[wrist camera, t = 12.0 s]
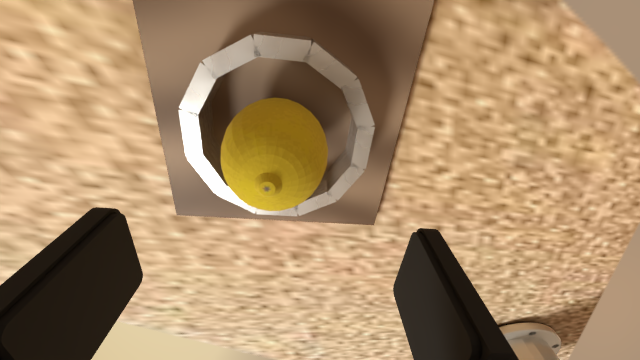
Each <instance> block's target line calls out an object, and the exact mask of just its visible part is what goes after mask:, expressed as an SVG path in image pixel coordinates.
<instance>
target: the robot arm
mask: <svg viewBox="0 0 640 360" xmlns="http://www.w3.org/2000/svg"><path fill="white" fill-rule="evenodd" d="M142 278H143V273H142V269H141V266H140V263H139V260H138V256H137V253H136V250H135V247H134V243H133V240H132V237H131V234H130V230H129V227H128V224H127V221H126V218H125V216H124V215H123V214H121V213H120V211H119V210H118V209H113V208H97V207H96V208H93V209H91V210H90V211H88V212H87V213H86V214H85V215H84V216H82V217H81V218H80V219H79V220H78V221H76V222H75V223H74V224H73V225H72V226H71V227H69V228H68V229H67V230H66V231H65V232H63V233H62V234H61V235H60V236H59V237H57V238H56V239H55V240H54V241H53V242H52V243H50V244H49V245H48V246H47V247H46V248H44V249H43V250H42V251H41V252H40V253H38V254H37V255H36V256H35V257H34V258H32V259H31V260H30V261H29V262H28V263H27V264H25V265H24V266H23V267H22V268H21V269H19V270H18V271H17V272H16V273H15V274H13V275H12V276H11V277H10V278H9V279H8V280H6V281H5V282H4V283H3V284H2V285H0V360H91V359H92V357H93V356H94V354H95V353H96V351H97V350H98V348H99V346H100V345H101V343H102V342H103V340H104V339H105V337H106V336H107V334H108V333H109V331H110V330H111V328H112V327H113V325H114V324H115V322H116V321H117V319H118V318H119V316H120V314H121V313H122V311H123V310H124V308H125V307H126V305H127V304H128V302H129V301H130V299H131V298H132V296H133V295H134V293H135V292H136V290H137V289H138V287H139V285H140V284H141V281H142ZM393 291H394V297H395V300H396V303H397V306H398V310H399V313H400V316H401V319H402V323H403V326H404V329H405V332H406V336H407V339H408V342H409V345H410V349H411V352H412V355H413V358H414V360H560V359H559V358H558V357H557V355H556V354H557V353H558V352H559V350H560V348H561V339H560V337H559V336H558V335H557V334H556V332H555V331H554V330H553V329H552V328H551V327H549V326H546V325H544V324H539V323H530V322H525V323H515V324H509V325H505V326H501V327H498V325H497V323H496V322H495V320H494V319H493V317H492V315H491V314H490V312H489V311H488V309H487V307H486V306H485V304H484V303H483V301H482V299H481V298H480V296H479V295H478V293H477V291H476V290H475V288H474V287H473V285H472V283H471V282H470V280H469V279H468V277H467V276H466V274H465V272H464V271H463V269H462V268H461V266H460V264H459V263H458V261H457V259H456V258H455V256H454V255H453V253H452V251H451V250H450V248H449V247H448V245H447V243H446V242H445V240H444V239H443V237H442V235H441V234H440V232H439V231H438V230H436V229H423V228H420V229H418V230H417V232H413V233H412V235H411V238H410V241H409V244H408V246H407V249H406V252H405V255H404V258H403V261H402V263H401V266H400V269H399V272H398V275H397V277H396V280H395V283H394V288H393Z"/></svg>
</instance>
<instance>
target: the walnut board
mask: <svg viewBox="0 0 640 360" xmlns="http://www.w3.org/2000/svg"><path fill="white" fill-rule="evenodd" d="M433 3H434V0H133V4H134V9H135V14H136V19H137V24H138V29H139V33H140V38H141V43H142V48H143V53H144V58H145V63H146V67H147V72H148V77H149V82H150V87H151V92H152V97H153V102H154V106H155V111H156V116H157V121H158V126H159V131H160V136H161V140H162V145H163V150H164V155H165V160H166V165H167V170H168V174H169V179H170V184H171V189H172V194H173V199H174V204H175V209H176V213H177V215H185V216H204V217H224V218H244V219H264V220H284V221H304V222H323V223H343V224H363V225H374V223H375V219H376V215H377V212H378V208H379V204H380V201H381V197H382V193H383V189H384V186H385V182H386V178H387V175H388V171H389V167H390V163H391V160H392V156H393V152H394V148H395V145H396V141H397V137H398V134H399V130H400V126H401V122H402V119H403V115H404V111H405V108H406V104H407V100H408V96H409V93H410V89H411V85H412V82H413V78H414V74H415V70H416V67H417V63H418V59H419V56H420V52H421V48H422V44H423V41H424V37H425V33H426V29H427V26H428V22H429V18H430V15H431V11H432V7H433ZM257 32H268V33H277V34H285V35H294V36H303V37H310V38H311V40H312V39H314V40H315V41H317V42H318V43H319V44H320V45H321V46H323V47H324V48H325V49H326V50H328V51H329V52H330V53H331V54H333V55H334V56H335V57H336V58H338V59H339V60H340V61H341V62H342V63H344V64H345V65H346V66H347V67H349V68H350V69H351V70H352V71H353V72H354V74H355V75H356V76H357V77H358V79H359V81H360V84H361V87H362V90H363V92H364V95H365V98H366V101H367V104H368V107H369V110H370V112H371V115H372V118H373V121H374V124H375V125H374V126H375V129H374V134H373V138H372V143H371V148H370V152H369V157H368V161H367V166H366V169H364V170H365V171H364V172H363V173H362V175H361V176H360V177H359V178H358V179H357V180H356V181H355V182H354V183H353V185H352V186H351V187H350V188H349V189H348V190H347V191H346V192H345V193H344V194H343V196H342V197H341V198H340V199H339V200H336V202H334V203H332V204H329V205H327V206H324V207H321V208H319V209H316V210H314V211H311V212H308V213H306V214H303V215H301V216H299V215H298V213H297V216H281V215H261V214H256V212H255V214H254V213H252V212H250V211H248V210H246V209H244V208H242V207H240V206H238V205H236V204H234V203H232V202H230V201H228V200H226V199H224V198H222V197H220V196H218V195H216V194H217V193H214V192H213V191H212V189H211V188H210V187H209V186H208V184H207V183H206V182H205V181H204V179H203V178H202V177H201V176H200V174H199V173H198V172H197V171H196V169H195V168H194V167H193V166H192V164H191V163H190V162H189V161H188V159H187V158H188V156H186V154H185V148H184V142H183V136H182V129H181V123H180V117H179V111H178V110H179V109H180V108H179V106H180V104H181V102H182V100H183V98H184V95H185V93H186V91H187V89H188V87H189V85H190V83H191V81H192V79H193V76H194V74H195V72H196V70H197V68H198V66H199V64H200V62H202V60H204V59H206V58H207V57H209V56H211V55H213V54H215V53H217V52H219V51H221V50H223V49H224V48H226V47H228V46H230V45H232V44H234V43H236V42H238V41H239V40H241V39H243V38H245V37H247V36H249V35H251V34H254V33H257ZM268 98H283V99H289V100H291V101H294V102H297V103H299V104H301V105H302V106H304V107H305V108H306V109H308V110H309V111H310V112H311V113H312V114H313V115H314V116H315V117H316V119H317V120H318V121H319V123H320V125H321V127H322V129H323V131H324V133H325V136H326V141H327V146H328V157H327V166H326V170H325V172H324V174H325V173H326V172H327V171H328V169H329V168H330V167H331V166H332V165H333V163H334V162H335V161H336V160H337V159H338V157H339V156H340V155H341V154H342V153H343V151H344V150H345V149H346V144H347V138H348V132H349V126H350V120H351V114H350V111H349V108H348V106H347V103H346V101H345V98H344V96H343V93H342V91H341V89H340V88H339V87H338V86H336V85H335V84H334V83H332V82H331V81H330V80H329V79H327V78H326V77H325V76H323V75H322V74H321V73H319V72H318V71H317V70H315V69H314V68H313V67H312V66H310V65H309V64H308V63H306V62H300V61H291V60H281V59H272V58H263V57H257V58H255V59H253V60H251V61H249V62H247V63H245V64H243V65H241V66H239V67H237V68H235V69H233V70H231V71H229V72H228V73H227V74H226V76H225V78H224V79H223V81H222V83H221V85H220V87H219V89H218V91H217V93H216V95H215V97H214V98H213V100H212V102H211V106H212V117H213V127H214V137H215V140H216V141H217V143H218V144H219V145H220V147H221V145H222V141H223V138H224V135H225V132H226V129H227V127H228V126H229V124H230V123H231V121H232V120H233V118H234V117H235V116H236V115H237V114H238V113H239V112H240V111H241V110H243V109H244V108H245V107H246V106H248V105H249V104H252V103H254V102H256V101H259V100H261V99H268Z"/></svg>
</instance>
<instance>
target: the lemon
mask: <svg viewBox="0 0 640 360" xmlns="http://www.w3.org/2000/svg"><path fill="white" fill-rule="evenodd" d="M327 157H328V146H327V141H326V136H325V133H324V131H323V129H322V127H321V125H320V123H319V121H318V120H317V119H316V117H315V116H314V115H313V114H312V113H311V112H310V111H309V110H308V109H306V108H305V107H304V106H302V105H301V104H299V103H297V102H294V101H291V100H289V99H283V98H268V99H261V100H259V101H256V102H254V103H252V104H249V105H248V106H246V107H245V108H244V109H243V110H241V111H240V112H239V113H238V114H237V115H236V116H235V117H234V118H233V120H232V121H231V123H230V124H229V126H228V127H227V129H226V132H225V135H224V138H223V141H222V145H221V168H222V171H223V175H224V178H225V180H226V182H227V184H228V186H229V187H230V189H231V190H232V191H233V192H234V194H235V195H236V196H237V197H238V198H239V199H240V200H242V201H243V202H245V203H246V204H248V205H250V206H252V207H255V208H257V209H261V210H266V211H282V210H286V209H290V208H293V207H295V206H297V205H299V204H301V203H303V202H304V201H305V200H306V199H307V198H309V197H310V196H311V195H312V194H313V193H314V191H315V190H316V188H317V187H318V186H319V184H320V182H321V180H322V178H323V175H324V172H325V170H326V166H327Z"/></svg>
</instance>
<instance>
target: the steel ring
mask: <svg viewBox="0 0 640 360" xmlns="http://www.w3.org/2000/svg"><path fill="white" fill-rule="evenodd" d="M257 57H263V58H272V59H281V60H291V61H300V62H306V63H308V64H309V65H310V66H312V67H313V68H314V69H315V70H317V71H318V72H319V73H321V74H322V75H323V76H325V77H326V78H327V79H329V80H330V81H331V82H332V83H334V84H335V85H336V86H338V87H339V88H340V89H341V91H342V93H343V96H344V98H345V101H346V103H347V106H348V108H349V111H350V114H351V120H350V126H349V132H348V138H347V144H346V149H345V150H344V151H343V153H342V154H341V155H340V156H339V157H338V159H337V160H336V161H335V162H334V163H333V165H332V166H331V167H330V168H329V169H328V171H327V172H326V173H325V174H324V175H323V178H322V180H321V182H320V184H319V186H318V187H317V188H316V190H315V191H314V193H313V194H312V195H311V196H310V197H309V198H307V199H306V200H305V201H304V202H303V203H301V204H299V205H297V206H295V207H293V208H290V209H286V210H282V211H266V210H261V209H257V208H255V207H252V206H250V205H248V204H246V203H245V202H243V201H242V200H240V199H239V198H238V197H237V196H236V195H235V194H234V192H233V191H232V190H231V189H230V187H229V186H228V184H227V182H226V180H225V178H224V175H223V171H222V168H221V147H220V145H219V144H218V143H217V141H216V140H215V137H214V127H213V117H212V106H211V102H212V100H213V98H214V97H215V95H216V93H217V91H218V89H219V87H220V85H221V83H222V81H223V79H224V78H225V76H226V74H227V73H228V72H229V71H231V70H233V69H235V68H237V67H239V66H241V65H243V64H245V63H247V62H249V61H251V60H253V59H255V58H257ZM179 108H180V109H179V110H178V111H179V117H180V123H181V129H182V136H183V142H184V148H185V154H186V156H188V158H187V159H188V161H189V162H190V163H191V164H192V166H193V167H194V168H195V169H196V171H197V172H198V173H199V174H200V176H201V177H202V178H203V179H204V181H205V182H206V183H207V184H208V186H209V187H210V188H211V189H212V191H213V192H214V193H217V194H216V195H218V196H220V197H222V198H224V199H226V200H228V201H230V202H232V203H234V204H236V205H238V206H240V207H242V208H244V209H246V210H248V211H250V212H252V213H254V214H255V212H256V214H261V215H281V216H297V213H298V215H299V216H301V215H303V214H306V213H308V212H311V211H314V210H316V209H319V208H321V207H324V206H327V205H329V204H332V203H334V202H336V200H339V199H340V198H341V197H342V196H343V194H344V193H345V192H346V191H347V190H348V189H349V188H350V187H351V186H352V185H353V183H354V182H355V181H356V180H357V179H358V178H359V177H360V176H361V175H362V173H363V172H364V171H365V170H364V169H366V166H367V161H368V157H369V152H370V148H371V143H372V138H373V134H374V129H375V126H374V125H375V124H374V121H373V118H372V115H371V112H370V110H369V107H368V104H367V101H366V98H365V95H364V92H363V90H362V87H361V84H360V81H359V79H358V77H357V76H356V75H355V74H354V72H353V71H352V70H351V69H350V68H349V67H347V66H346V65H345V64H344V63H342V62H341V61H340V60H339V59H338V58H336V57H335V56H334V55H333V54H331V53H330V52H329V51H328V50H326V49H325V48H324V47H323V46H321V45H320V44H319V43H318V42H317V41H315V40H314V39H312V40H311V38H310V37H303V36H294V35H285V34H277V33H268V32H257V33H254V34H251V35H249V36H247V37H245V38H243V39H241V40H239V41H238V42H236V43H234V44H232V45H230V46H228V47H226V48H224V49H223V50H221V51H219V52H217V53H215V54H213V55H211V56H209V57H207V58H206V59H204V60H202V62H200V64H199V66H198V68H197V70H196V72H195V74H194V76H193V79H192V81H191V83H190V85H189V87H188V89H187V91H186V93H185V95H184V98H183V100H182V102H181V104H180V106H179Z"/></svg>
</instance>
